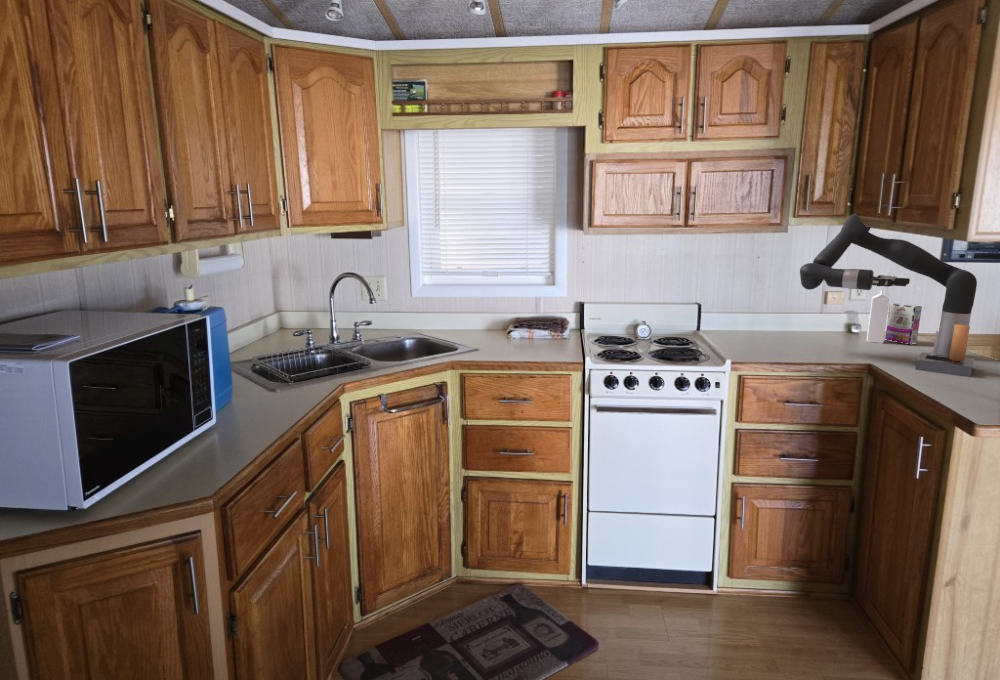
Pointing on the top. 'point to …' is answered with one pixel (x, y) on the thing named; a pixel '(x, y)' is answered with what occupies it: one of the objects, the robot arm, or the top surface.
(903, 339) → the candy bar box
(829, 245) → the robot arm
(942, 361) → the keyhole plate
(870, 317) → the milk
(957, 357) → the post
